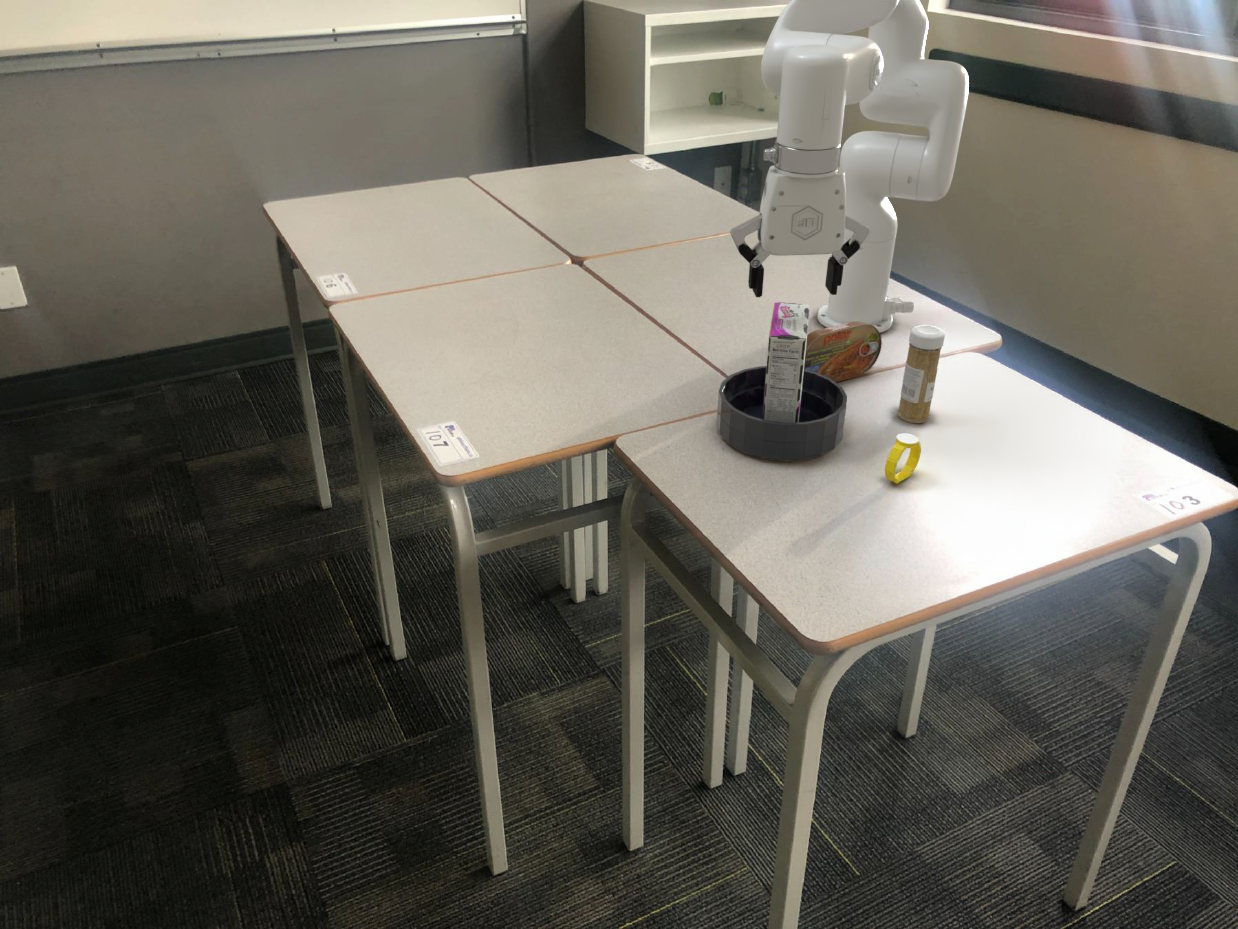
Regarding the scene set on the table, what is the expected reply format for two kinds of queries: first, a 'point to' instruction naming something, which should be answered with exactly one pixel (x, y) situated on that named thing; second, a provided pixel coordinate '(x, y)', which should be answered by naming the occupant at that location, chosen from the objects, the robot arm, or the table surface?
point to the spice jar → (920, 373)
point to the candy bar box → (785, 362)
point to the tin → (843, 350)
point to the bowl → (779, 439)
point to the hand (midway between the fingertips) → (793, 291)
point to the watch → (895, 454)
